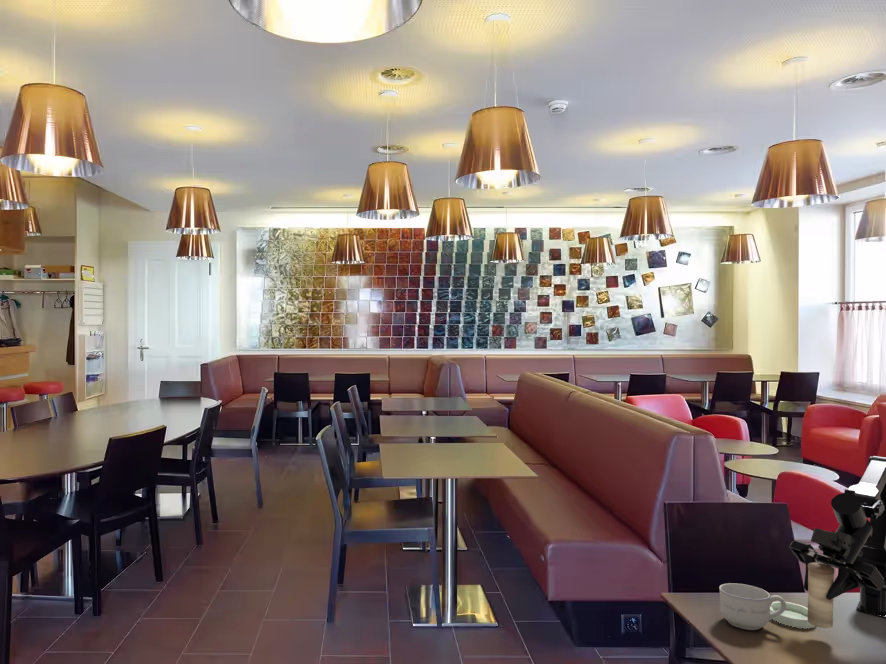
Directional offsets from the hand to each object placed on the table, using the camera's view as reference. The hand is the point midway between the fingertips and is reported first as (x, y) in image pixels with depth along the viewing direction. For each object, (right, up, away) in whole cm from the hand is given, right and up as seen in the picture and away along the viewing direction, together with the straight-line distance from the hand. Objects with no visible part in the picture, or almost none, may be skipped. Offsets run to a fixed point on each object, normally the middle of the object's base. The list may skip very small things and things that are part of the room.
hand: (816, 594), depth 136 cm
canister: (+1, -7, 0) cm, 7 cm away
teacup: (-11, -10, +6) cm, 16 cm away
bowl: (0, -10, +10) cm, 15 cm away
